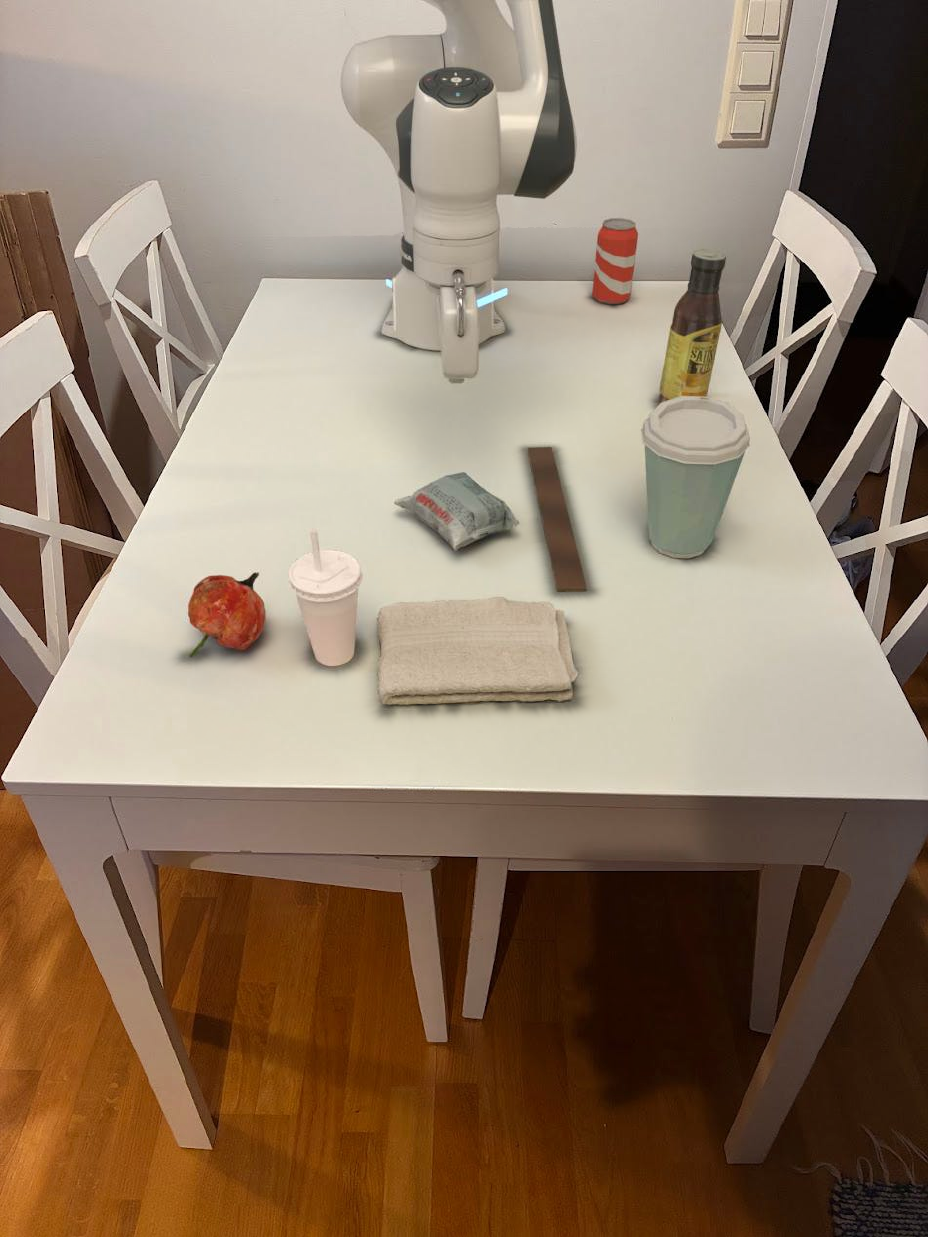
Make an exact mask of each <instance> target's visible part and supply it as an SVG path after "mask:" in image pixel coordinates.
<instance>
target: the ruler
mask: <svg viewBox="0 0 928 1237" xmlns="http://www.w3.org/2000/svg"><path fill="white" fill-rule="evenodd" d="M526 452H527V455H528V461H529V466H530V469H531V470H530V471H531V475H532V480H533V485H534V490H535V493H536V494H535V495H536V498H537V503H538V508H539V513H540V518H541V523H542V527H543V533H544V536H545V541H546V546H547V551H548V555H549V560H550V565H551V570H552V574H553V580H554V584H555V589H556V592H587V589H588V588H587V583H586V580H585V575H584V572H583V567H582V563H581V559H580V555H579V551H578V548H577V542H576V539H575V535H574V531H573V527H572V523H571V518H570V515H569V511H568V508H567V503H566V499H565V495H564V492H563V487H562V483H561V480H560V475H559V471H558V467H557V464H556V460H555V456H554V451H553V447H552V446H543V447H542V446H539V447H538V446H537V447H536V446H535V447H534V446H533V447H532V446H531V447H527V449H526Z"/></svg>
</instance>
